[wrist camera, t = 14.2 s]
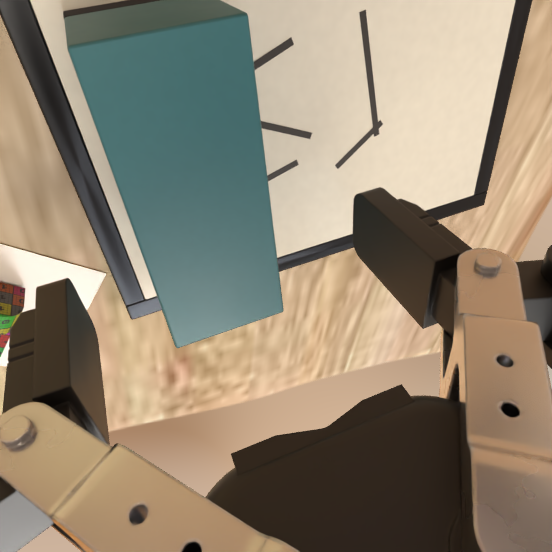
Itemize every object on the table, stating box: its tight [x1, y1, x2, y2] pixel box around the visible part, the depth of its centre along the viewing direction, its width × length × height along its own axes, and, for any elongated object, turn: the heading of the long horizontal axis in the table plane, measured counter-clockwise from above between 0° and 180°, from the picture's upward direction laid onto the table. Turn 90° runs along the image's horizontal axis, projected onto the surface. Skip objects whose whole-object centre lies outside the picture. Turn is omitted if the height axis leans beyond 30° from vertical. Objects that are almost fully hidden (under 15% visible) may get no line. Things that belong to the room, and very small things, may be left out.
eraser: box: [63, 0, 283, 348], centre depth 17 cm, size 11×5×6 cm, turn 6°
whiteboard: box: [0, 0, 532, 319], centre depth 21 cm, size 16×22×1 cm
